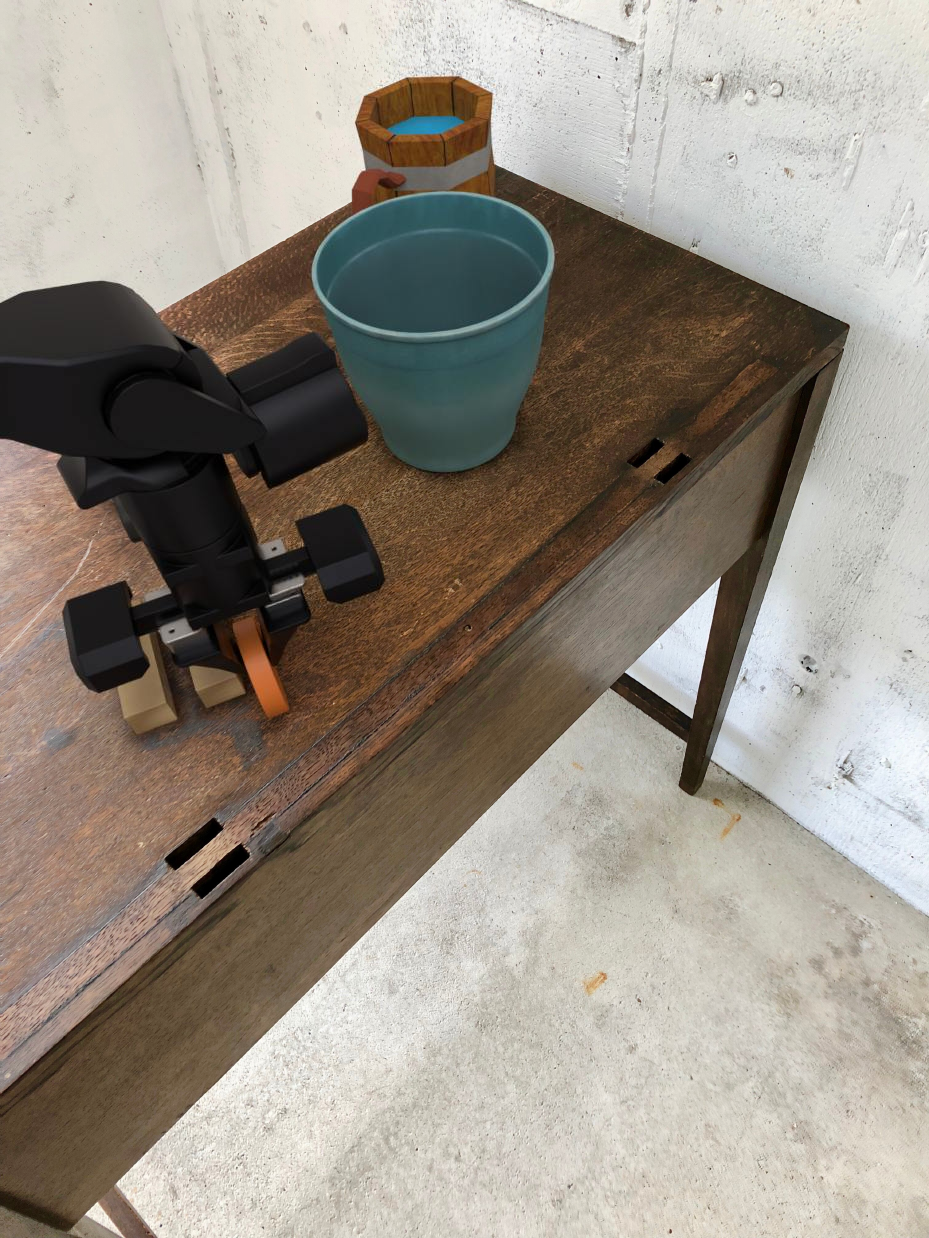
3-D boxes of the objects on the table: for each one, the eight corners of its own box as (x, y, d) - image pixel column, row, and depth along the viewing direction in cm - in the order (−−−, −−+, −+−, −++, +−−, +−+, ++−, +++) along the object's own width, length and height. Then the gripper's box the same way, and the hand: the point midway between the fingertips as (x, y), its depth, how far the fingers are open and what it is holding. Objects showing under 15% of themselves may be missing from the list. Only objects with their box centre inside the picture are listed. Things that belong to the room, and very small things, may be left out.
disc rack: (137, 735, 62) (123, 718, 60) (113, 630, 68) (100, 612, 66) (246, 693, 64) (236, 675, 62) (214, 594, 69) (205, 575, 67)
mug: (416, 208, 100) (399, 65, 88) (522, 234, 96) (521, 87, 83) (321, 306, 90) (288, 160, 78) (434, 339, 86) (418, 190, 74)
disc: (276, 735, 61) (251, 687, 55) (250, 657, 65) (224, 604, 59) (297, 727, 62) (274, 678, 56) (269, 650, 65) (245, 596, 59)
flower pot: (558, 497, 73) (564, 324, 59) (344, 510, 74) (300, 342, 60) (543, 358, 83) (545, 183, 70) (355, 370, 84) (320, 199, 70)
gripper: (308, 375, 54) (351, 540, 67) (1, 473, 50) (108, 626, 63) (368, 495, 48) (402, 651, 60) (22, 615, 44) (136, 753, 57)
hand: (261, 665), depth 60 cm, fingers closed on disc, 1 cm apart
